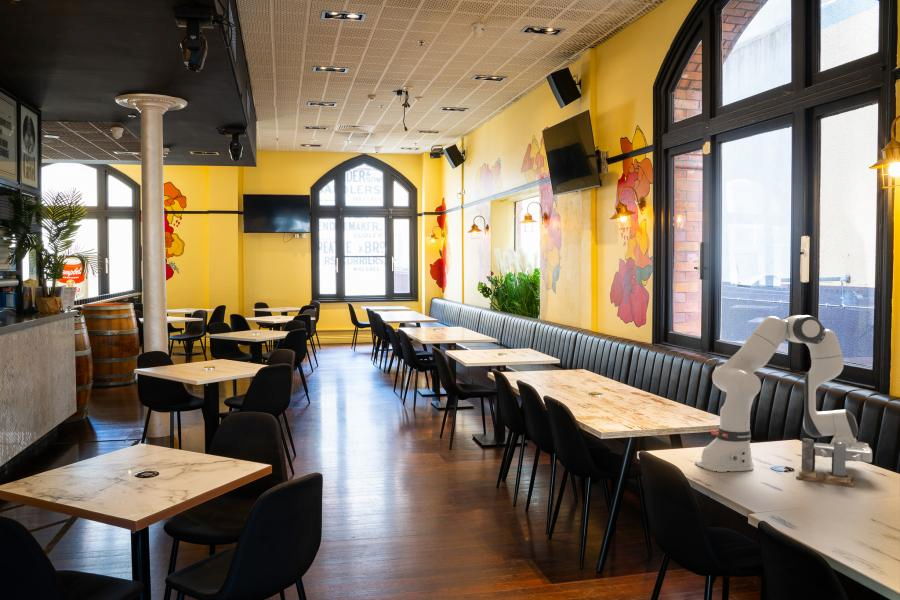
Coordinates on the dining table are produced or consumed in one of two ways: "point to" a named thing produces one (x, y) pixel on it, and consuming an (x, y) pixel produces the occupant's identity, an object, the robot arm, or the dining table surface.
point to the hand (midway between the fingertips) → (839, 457)
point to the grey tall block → (839, 459)
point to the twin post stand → (811, 474)
